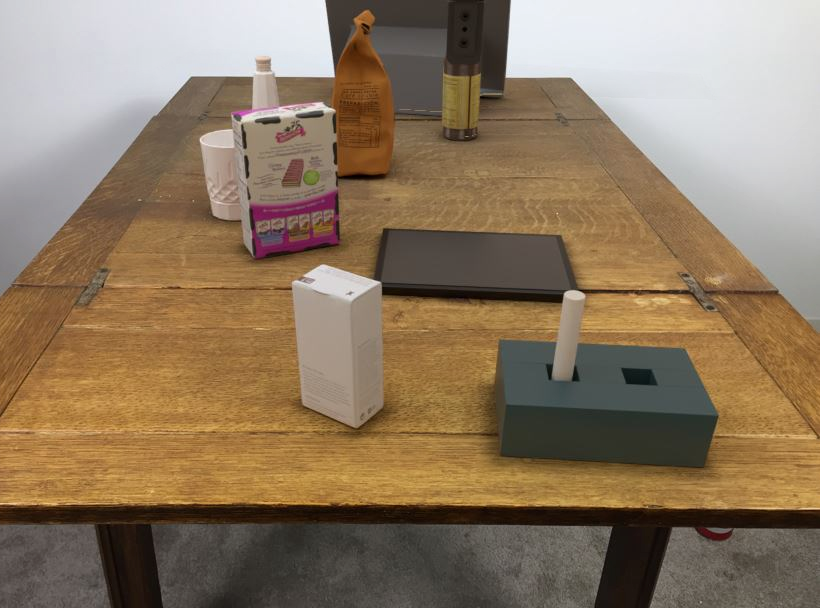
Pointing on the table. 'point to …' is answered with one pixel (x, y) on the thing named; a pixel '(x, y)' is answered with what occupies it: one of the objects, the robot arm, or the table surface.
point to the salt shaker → (264, 85)
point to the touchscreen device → (420, 46)
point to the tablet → (474, 265)
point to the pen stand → (603, 405)
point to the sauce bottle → (460, 100)
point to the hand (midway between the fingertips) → (464, 50)
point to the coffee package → (363, 106)
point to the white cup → (221, 174)
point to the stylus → (568, 335)
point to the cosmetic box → (339, 343)
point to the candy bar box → (287, 177)
